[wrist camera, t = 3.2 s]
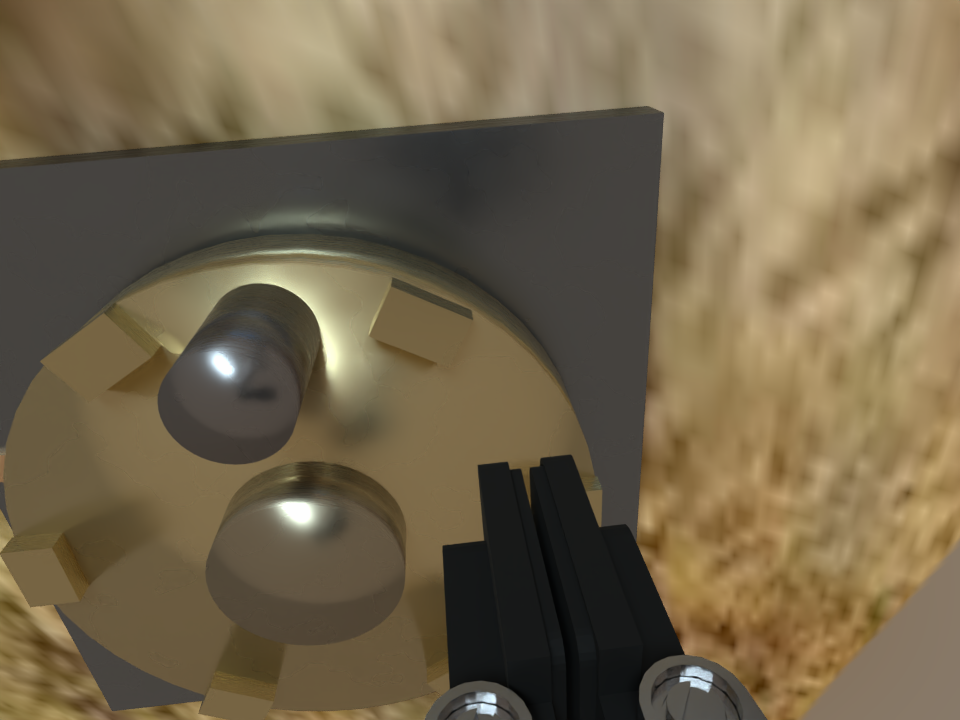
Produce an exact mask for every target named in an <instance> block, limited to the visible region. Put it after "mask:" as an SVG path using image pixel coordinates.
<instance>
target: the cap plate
mask: <svg viewBox="0 0 960 720" xmlns="http://www.w3.org/2000/svg"><path fill="white" fill-rule="evenodd" d="M663 119H664V113H663V112H661V111H659V110H656V109H654V108H651V107H649V106H644V107H633V108H621V109H609V110H597V111H585V112H573V113H561V114H549V115H537V116H525V117H513V118H501V119H489V120H477V121H466V122H454V123H442V124H430V125H418V126H406V127H394V128H382V129H370V130H358V131H346V132H334V133H322V134H311V135H299V136H287V137H275V138H263V139H251V140H239V141H227V142H215V143H203V144H191V145H179V146H167V147H156V148H144V149H132V150H120V151H108V152H96V153H84V154H72V155H60V156H48V157H36V158H24V159H12V160H1V161H0V509H1V511H2V512H3V514H4V516H5V518H6V520H7V521H8V523H9V525H10V527H11V523H10V519H9V516H8V512H7V508H6V502H5V490H4V479H3V472H4V461H5V451H6V443H7V439H8V436H9V433H10V429H11V426H12V423H13V419H14V416H15V413H16V410H17V408H18V407H19V405H20V403H21V401H22V399H23V397H24V395H25V393H26V391H27V389H28V387H29V385H30V384H31V382H32V380H33V379H34V378H35V376H36V375H37V374H38V373H39V371H40V370H41V369H42V367H43V366H44V365H43V364H42V363H41V362H40V361H41V360H42V359H43V358H44V357H45V356H47V355H48V354H49V353H50V352H51V351H52V350H53V349H54V348H56V347H57V346H58V345H60V344H61V343H62V342H64V341H65V340H66V339H68V338H69V337H70V336H71V335H73V334H74V333H75V332H77V331H78V330H79V329H80V328H81V327H82V326H83V325H84V324H86V323H87V322H88V321H89V320H90V319H91V318H92V317H93V316H94V315H95V314H96V313H97V312H99V311H100V310H101V309H102V308H103V307H104V306H105V305H106V304H107V303H109V302H110V301H111V300H112V299H113V298H114V297H115V296H116V295H117V294H119V293H120V292H121V291H122V290H123V289H124V288H126V287H127V286H129V285H130V284H132V283H134V282H135V281H137V280H138V279H140V278H141V277H143V276H144V275H146V274H147V273H149V272H151V271H152V270H154V269H155V268H157V267H160V266H162V265H164V264H166V263H168V262H171V261H173V260H175V259H177V258H180V257H182V256H184V255H186V254H188V253H191V252H194V251H197V250H201V249H204V248H208V247H211V246H214V245H218V244H221V243H225V242H228V241H234V240H240V239H247V238H253V237H259V236H266V235H285V234H319V235H329V236H339V237H349V238H356V239H360V240H365V241H369V242H374V243H378V244H382V245H387V246H391V247H395V248H398V249H400V250H403V251H406V252H409V253H412V254H414V255H417V256H420V257H423V258H426V259H428V260H431V261H433V262H435V263H437V264H439V265H441V266H443V267H445V268H447V269H449V270H451V271H453V272H455V273H457V274H459V275H461V276H463V277H465V278H466V279H468V280H469V281H471V282H472V283H474V284H475V285H477V286H478V287H479V288H481V289H482V290H484V291H485V292H487V293H488V294H490V295H491V296H493V297H494V298H496V299H497V300H498V301H499V302H500V303H501V304H502V305H503V306H505V307H506V308H507V309H508V310H509V311H510V312H511V313H512V314H513V315H515V316H516V317H517V318H518V319H519V320H520V321H521V322H522V323H523V324H524V325H525V326H526V328H527V329H528V330H529V331H530V332H531V334H532V335H533V336H534V337H535V338H536V340H537V341H538V342H539V343H540V344H541V346H542V347H543V348H544V350H545V351H546V353H547V355H548V356H549V358H550V360H551V361H552V363H553V364H554V366H555V368H556V369H557V371H558V373H559V374H560V377H561V379H562V381H563V384H564V386H565V389H566V391H567V393H568V396H569V398H570V401H571V403H572V406H573V408H574V411H575V414H576V416H577V419H578V421H579V424H580V427H581V429H582V432H583V435H584V437H585V440H586V442H587V445H588V448H589V453H590V457H591V461H592V466H593V470H594V474H595V476H597V477H598V480H599V482H600V485H601V488H602V518H601V527H604V526H612V525H621V524H626V525H627V526H628V527H629V528H630V530H631V532H632V534H633V536H634V539H635V541H636V536H637V520H638V505H639V489H640V474H641V458H642V443H643V427H644V412H645V397H646V381H647V366H648V350H649V335H650V319H651V304H652V288H653V273H654V258H655V242H656V227H657V211H658V196H659V180H660V165H661V149H662V134H663ZM11 529H12V527H11ZM54 606H55V608H56V610H57V612H58V614H59V615H60V617H61V619H62V621H63V623H64V625H65V626H66V628H67V630H68V632H69V634H70V635H71V637H72V639H73V641H74V643H75V644H76V646H77V648H78V650H79V652H80V653H81V655H82V657H83V659H84V661H85V662H86V664H87V666H88V668H89V670H90V672H91V673H92V675H93V677H94V679H95V681H96V682H97V684H98V686H99V688H100V690H101V691H102V693H103V695H104V697H105V699H106V700H107V702H108V704H109V706H110V708H111V710H112V711H117V710H126V709H135V708H143V707H152V706H161V705H169V704H178V703H187V702H195V701H203V698H204V695H202V694H199V693H196V692H193V691H191V690H188V689H185V688H182V687H179V686H176V685H173V684H171V683H169V682H167V681H164V680H162V679H160V678H158V677H155V676H153V675H151V674H149V673H147V672H144V671H142V670H141V669H139V668H137V667H135V666H134V665H132V664H130V663H128V662H127V661H125V660H123V659H121V658H120V657H118V656H116V655H114V654H113V653H112V652H110V651H109V650H108V649H106V648H105V647H103V646H102V645H101V644H99V643H98V642H96V641H95V640H94V639H92V638H91V637H89V636H88V635H87V634H86V633H85V632H84V631H83V630H81V629H80V628H79V627H78V626H77V625H76V624H75V623H74V622H73V621H71V620H70V619H69V618H68V617H67V616H66V615H65V614H64V613H63V612H62V611H61V609H60V608H59V607H58V606H57V605H56V604H54Z"/></svg>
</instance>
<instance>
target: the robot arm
mask: <svg viewBox="0 0 960 720" xmlns="http://www.w3.org/2000/svg"><path fill="white" fill-rule="evenodd" d="M529 474H530V497H531V507H530V503H529V499H528V495H527V491H526V487H525V483H524V479H523V475H522V471H521V468H519V469H510V468H509V464H508V461H507V462H498V463H489V464H480V465H478V479H479V490H480V501H481V513H482V524H483V535H484V541H476V542H467V543H459V544H450V545H442V552H443V572H444V591H445V609H446V628H447V647H448V666H449V684H450V689H449V690H448V691H447V692H446V693H444V694H443V695H442V696H441V697H440V698H438V699H437V700H436V701H435V703H434V704H433V706H432V707H431V709H430V710H429V712H428V713H427V714H426V718H425V720H767V719H766V717H765V716H764V714H763V713H762V711H761V710H760V708H759V707H758V705H757V704H756V702H755V701H754V700H753V698H752V697H751V695H750V694H749V692H748V691H747V689H746V688H745V687H744V686H743V685H742V683H741V682H740V681H739V680H738V679H737V678H736V677H735V676H734V674H732V673H731V672H729V671H728V670H726V669H725V668H723V667H722V666H721V665H719V664H717V663H715V662H712V661H710V660H707V659H705V658H702V657H697V656H690V655H685V654H684V652H683V649H682V647H681V645H680V642H679V640H678V638H677V635H676V633H675V631H674V628H673V626H672V624H671V622H670V619H669V617H668V615H667V612H666V610H665V608H664V605H663V603H662V601H661V599H660V596H659V594H658V592H657V589H656V587H655V585H654V582H653V580H652V578H651V576H650V573H649V571H648V569H647V566H646V564H645V562H644V559H643V557H642V555H641V553H640V550H639V548H638V546H637V543H636V541H635V539H634V536H633V534H632V532H631V530H630V528H629V527H628V526H627V525H626V524H621V525H612V526H604V527H599V525H598V523H597V520H596V517H595V515H594V512H593V509H592V507H591V504H590V501H589V499H588V496H587V493H586V491H585V488H584V485H583V483H582V480H581V477H580V475H579V472H578V469H577V466H576V464H575V461H574V459H573V456H572V455H571V454H570V455H561V456H552V457H543V458H541V459H540V466H536V467H530V470H529Z"/></svg>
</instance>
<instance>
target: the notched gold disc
mask: <svg viewBox="0 0 960 720" xmlns="http://www.w3.org/2000/svg"><path fill="white" fill-rule="evenodd" d="M40 362H41V363H42V364H43V365H44V366H43V367H42V369H41V370H40V371H39V373H38V374H37V375H36V376H35V378H34V379H33V380H32V382H31V384H30V385H29V387H28V389H27V391H26V393H25V395H24V397H23V399H22V401H21V403H20V405H19V407H18V408H17V410H16V413H15V416H14V419H13V423H12V426H11V429H10V433H9V436H8V439H7V443H6V451H5V461H4V472H3V479H4V490H5V502H6V508H7V512H8V516H9V519H10V523H11V527H12V530H13V534H14V537H13V538H11V540H10V541H9V542H8V543H7V545H6V546H5V547H4V549H3V550H2V551H1V552H0V555H1V557H2V559H3V561H4V562H5V564H6V566H7V567H8V569H9V571H10V573H11V574H12V576H13V578H14V580H15V581H16V583H17V585H18V586H19V588H20V590H21V592H22V593H23V595H24V597H25V599H26V600H27V602H28V604H29V605H30V607H36V606H45V605H54V604H56V605H57V606H58V607H59V608H60V609H61V611H62V612H63V613H64V614H65V615H66V616H67V617H68V618H69V619H70V620H71V621H73V622H74V623H75V624H76V625H77V626H78V627H79V628H80V629H81V630H83V631H84V632H85V633H86V634H87V635H88V636H89V637H91V638H92V639H94V640H95V641H96V642H98V643H99V644H101V645H102V646H103V647H105V648H106V649H108V650H109V651H110V652H112V653H113V654H114V655H116V656H118V657H120V658H121V659H123V660H125V661H127V662H128V663H130V664H132V665H134V666H135V667H137V668H139V669H141V670H142V671H144V672H147V673H149V674H151V675H153V676H155V677H158V678H160V679H162V680H164V681H167V682H169V683H171V684H173V685H176V686H179V687H182V688H185V689H188V690H191V691H193V692H196V693H199V694H202V695H204V698H203V701H202V704H201V707H200V710H199V713H198V714H203V715H208V716H213V717H218V718H223V719H228V720H264V719H265V718H266V716H267V714H268V712H269V710H270V709H281V710H293V711H338V710H351V709H362V708H369V707H375V706H381V705H387V704H393V703H397V702H401V701H405V700H409V699H413V698H417V697H421V696H424V695H427V694H430V693H433V692H435V691H436V692H437V693H439V694H440V695H441V696H442V695H443V694H444V693H446V692H447V691H448V690H449V689H450V684H449V666H448V647H447V628H446V609H445V591H444V572H443V552H442V545H450V544H459V543H467V542H476V541H484V535H483V524H482V513H481V501H480V490H479V479H478V465H480V464H489V463H498V462H507V461H508V464H509V468H510V469H519V468H521V471H522V475H523V479H524V483H525V487H526V491H527V495H528V499H529V503H530V507H531V497H530V474H529V470H530V467H536V466H540V459H541V458H543V457H552V456H561V455H570V454H571V455H572V456H573V459H574V461H575V464H576V466H577V469H578V472H579V475H580V477H581V480H582V483H583V485H584V488H585V491H586V493H587V496H588V499H589V501H590V504H591V507H592V509H593V512H594V515H595V517H596V520H597V523H598V525H599V527H601V518H602V488H601V485H600V482H599V480H598V477H597V476H595V474H594V470H593V466H592V461H591V457H590V453H589V448H588V445H587V442H586V440H585V437H584V435H583V432H582V429H581V427H580V424H579V421H578V419H577V416H576V414H575V411H574V408H573V406H572V403H571V401H570V398H569V396H568V393H567V391H566V389H565V386H564V384H563V381H562V379H561V377H560V374H559V373H558V371H557V369H556V368H555V366H554V364H553V363H552V361H551V360H550V358H549V356H548V355H547V353H546V351H545V350H544V348H543V347H542V346H541V344H540V343H539V342H538V341H537V340H536V338H535V337H534V336H533V335H532V334H531V332H530V331H529V330H528V329H527V328H526V326H525V325H524V324H523V323H522V322H521V321H520V320H519V319H518V318H517V317H516V316H515V315H513V314H512V313H511V312H510V311H509V310H508V309H507V308H506V307H505V306H503V305H502V304H501V303H500V302H499V301H498V300H497V299H496V298H494V297H493V296H491V295H490V294H488V293H487V292H485V291H484V290H482V289H481V288H479V287H478V286H477V285H475V284H474V283H472V282H471V281H469V280H468V279H466V278H465V277H463V276H461V275H459V274H457V273H455V272H453V271H451V270H449V269H447V268H445V267H443V266H441V265H439V264H437V263H435V262H433V261H431V260H428V259H426V258H423V257H420V256H417V255H414V254H412V253H409V252H406V251H403V250H400V249H398V248H395V247H391V246H387V245H382V244H378V243H374V242H369V241H365V240H360V239H356V238H349V237H339V236H329V235H319V234H285V235H266V236H259V237H253V238H247V239H240V240H234V241H228V242H225V243H221V244H218V245H214V246H211V247H208V248H204V249H201V250H197V251H194V252H191V253H188V254H186V255H184V256H182V257H180V258H177V259H175V260H173V261H171V262H168V263H166V264H164V265H162V266H160V267H157V268H155V269H154V270H152V271H151V272H149V273H147V274H146V275H144V276H143V277H141V278H140V279H138V280H137V281H135V282H134V283H132V284H130V285H129V286H127V287H126V288H124V289H123V290H122V291H121V292H120V293H119V294H117V295H116V296H115V297H114V298H113V299H112V300H111V301H110V302H109V303H107V304H106V305H105V306H104V307H103V308H102V309H101V310H100V311H99V312H97V313H96V314H95V315H94V316H93V317H92V318H91V319H90V320H89V321H88V322H87V323H86V324H84V325H83V326H82V327H81V328H80V329H79V330H78V331H77V332H75V333H74V334H73V335H71V336H70V337H69V338H68V339H66V340H65V341H64V342H62V343H61V344H60V345H58V346H57V347H56V348H54V349H53V350H52V351H51V352H50V353H49V354H48V355H47V356H45V357H44V358H43V359H42V360H41V361H40Z"/></svg>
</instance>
